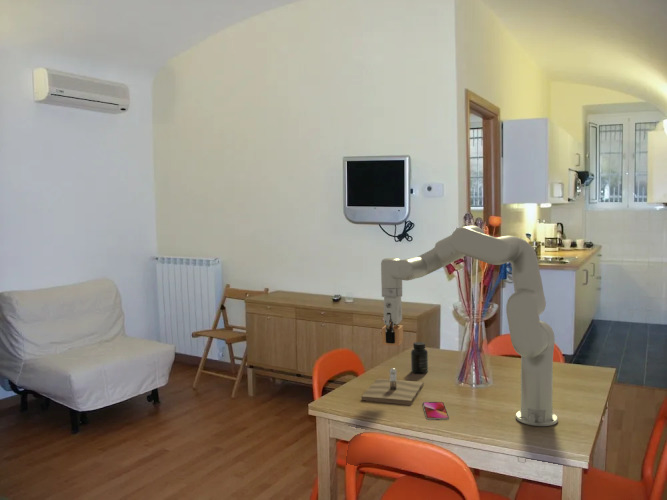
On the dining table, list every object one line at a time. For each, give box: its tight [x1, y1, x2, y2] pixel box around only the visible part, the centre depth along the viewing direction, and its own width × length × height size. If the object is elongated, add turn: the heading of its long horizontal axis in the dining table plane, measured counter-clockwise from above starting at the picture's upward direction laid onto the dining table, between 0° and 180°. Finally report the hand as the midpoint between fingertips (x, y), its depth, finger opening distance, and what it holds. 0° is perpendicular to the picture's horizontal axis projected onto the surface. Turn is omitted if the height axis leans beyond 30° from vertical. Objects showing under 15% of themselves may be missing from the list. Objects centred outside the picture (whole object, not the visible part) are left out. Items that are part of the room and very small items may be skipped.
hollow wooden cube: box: [381, 324, 404, 347], centre depth 216 cm, size 6×6×6 cm
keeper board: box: [360, 378, 424, 406], centre depth 218 cm, size 22×18×2 cm
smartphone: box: [422, 401, 450, 421], centre depth 198 cm, size 7×1×15 cm
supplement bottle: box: [410, 341, 429, 375], centre depth 243 cm, size 7×7×12 cm
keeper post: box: [389, 367, 398, 390], centre depth 218 cm, size 3×3×8 cm
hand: (392, 340), depth 216 cm, fingers closed on hollow wooden cube, 6 cm apart
